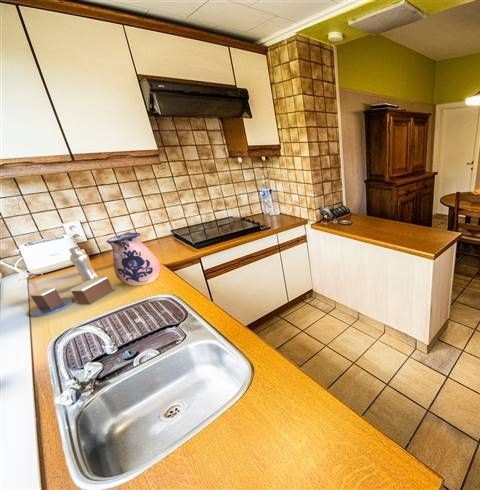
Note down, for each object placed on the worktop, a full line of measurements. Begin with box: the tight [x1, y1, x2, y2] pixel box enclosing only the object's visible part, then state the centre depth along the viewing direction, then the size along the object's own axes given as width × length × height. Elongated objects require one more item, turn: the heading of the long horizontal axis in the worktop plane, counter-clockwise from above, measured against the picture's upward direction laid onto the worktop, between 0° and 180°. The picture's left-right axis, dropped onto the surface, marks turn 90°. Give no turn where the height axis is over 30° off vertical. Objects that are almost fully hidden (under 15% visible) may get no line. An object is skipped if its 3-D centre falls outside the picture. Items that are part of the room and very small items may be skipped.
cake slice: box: [29, 287, 64, 310], centre depth 117 cm, size 5×6×8 cm
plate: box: [29, 297, 74, 318], centre depth 119 cm, size 13×13×1 cm
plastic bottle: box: [68, 246, 101, 283], centre depth 135 cm, size 6×7×20 cm
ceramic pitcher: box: [106, 231, 162, 287], centre depth 134 cm, size 18×21×25 cm
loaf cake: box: [69, 276, 114, 305], centre depth 124 cm, size 11×6×8 cm, turn 175°
